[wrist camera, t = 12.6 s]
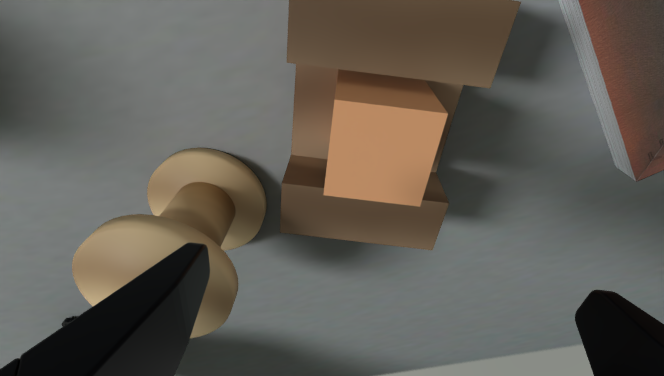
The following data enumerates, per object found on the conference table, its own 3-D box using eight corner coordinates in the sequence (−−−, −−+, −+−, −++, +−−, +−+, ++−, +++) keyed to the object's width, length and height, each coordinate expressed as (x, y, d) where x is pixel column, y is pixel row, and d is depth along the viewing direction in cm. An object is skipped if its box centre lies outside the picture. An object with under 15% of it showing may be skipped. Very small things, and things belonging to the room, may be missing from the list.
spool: (266, 246, 24) (235, 346, 17) (164, 234, 24) (95, 330, 17) (267, 155, 20) (228, 240, 14) (146, 141, 20) (50, 219, 13)
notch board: (419, 206, 21) (432, 250, 18) (291, 191, 21) (279, 232, 18) (483, -5, 15) (520, 1, 12) (303, -28, 15) (290, -29, 12)
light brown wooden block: (404, 152, 18) (420, 206, 14) (329, 144, 18) (323, 195, 14) (422, 77, 16) (447, 113, 12) (338, 66, 16) (334, 99, 12)
